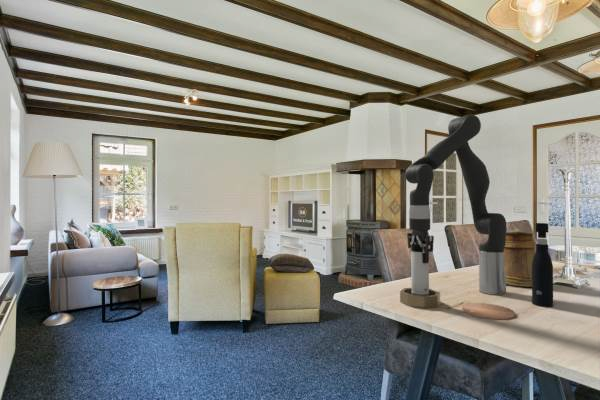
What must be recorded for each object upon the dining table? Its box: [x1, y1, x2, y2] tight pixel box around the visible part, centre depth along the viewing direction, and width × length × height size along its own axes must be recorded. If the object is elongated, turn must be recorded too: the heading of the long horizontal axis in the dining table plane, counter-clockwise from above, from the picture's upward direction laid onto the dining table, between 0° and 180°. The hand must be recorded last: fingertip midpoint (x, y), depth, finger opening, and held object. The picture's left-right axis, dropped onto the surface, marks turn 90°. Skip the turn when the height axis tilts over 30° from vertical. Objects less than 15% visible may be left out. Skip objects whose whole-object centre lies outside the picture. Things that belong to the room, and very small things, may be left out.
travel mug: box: [410, 243, 430, 296], centre depth 134 cm, size 6×7×20 cm
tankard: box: [504, 227, 536, 288], centre depth 167 cm, size 18×24×25 cm
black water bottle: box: [531, 222, 554, 308], centre depth 131 cm, size 6×6×30 cm
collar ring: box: [399, 287, 441, 309], centre depth 134 cm, size 13×13×4 cm
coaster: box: [461, 302, 516, 321], centre depth 122 cm, size 16×16×1 cm
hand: (420, 261), depth 134 cm, fingers closed on travel mug, 6 cm apart
